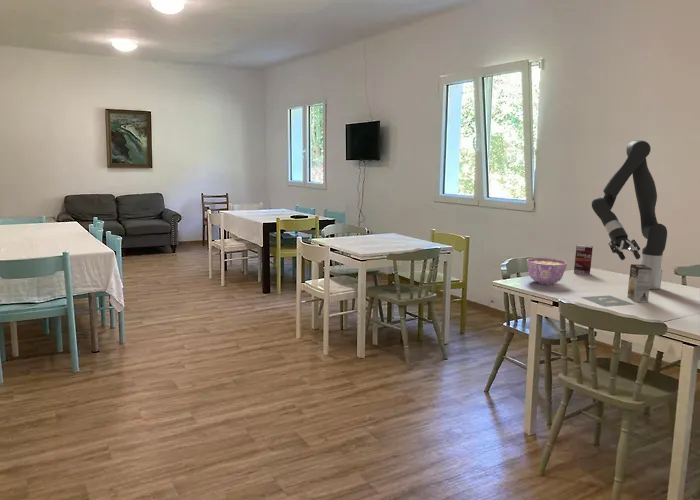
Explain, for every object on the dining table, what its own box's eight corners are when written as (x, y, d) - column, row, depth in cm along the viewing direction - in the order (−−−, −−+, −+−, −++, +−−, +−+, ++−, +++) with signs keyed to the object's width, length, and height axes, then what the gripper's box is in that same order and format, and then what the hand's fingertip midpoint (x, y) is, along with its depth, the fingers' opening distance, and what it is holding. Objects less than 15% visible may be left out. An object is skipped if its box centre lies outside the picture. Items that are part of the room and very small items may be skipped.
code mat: (609, 295, 267) (609, 295, 267) (634, 304, 251) (634, 304, 251) (581, 297, 262) (581, 297, 262) (604, 306, 247) (604, 306, 247)
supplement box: (573, 273, 315) (576, 246, 312) (573, 272, 319) (576, 244, 317) (590, 275, 312) (592, 247, 309) (590, 273, 316) (592, 246, 313)
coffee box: (626, 297, 264) (630, 263, 262) (640, 297, 264) (644, 264, 261) (634, 302, 255) (637, 267, 253) (648, 302, 255) (652, 268, 252)
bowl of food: (543, 288, 278) (545, 266, 276) (516, 280, 296) (518, 258, 294) (574, 285, 286) (575, 263, 284) (546, 277, 304) (547, 256, 302)
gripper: (608, 227, 267) (623, 255, 259) (632, 226, 271) (648, 253, 262) (599, 236, 273) (614, 264, 264) (623, 235, 277) (638, 262, 268)
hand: (631, 258), depth 263 cm, fingers open, 8 cm apart
